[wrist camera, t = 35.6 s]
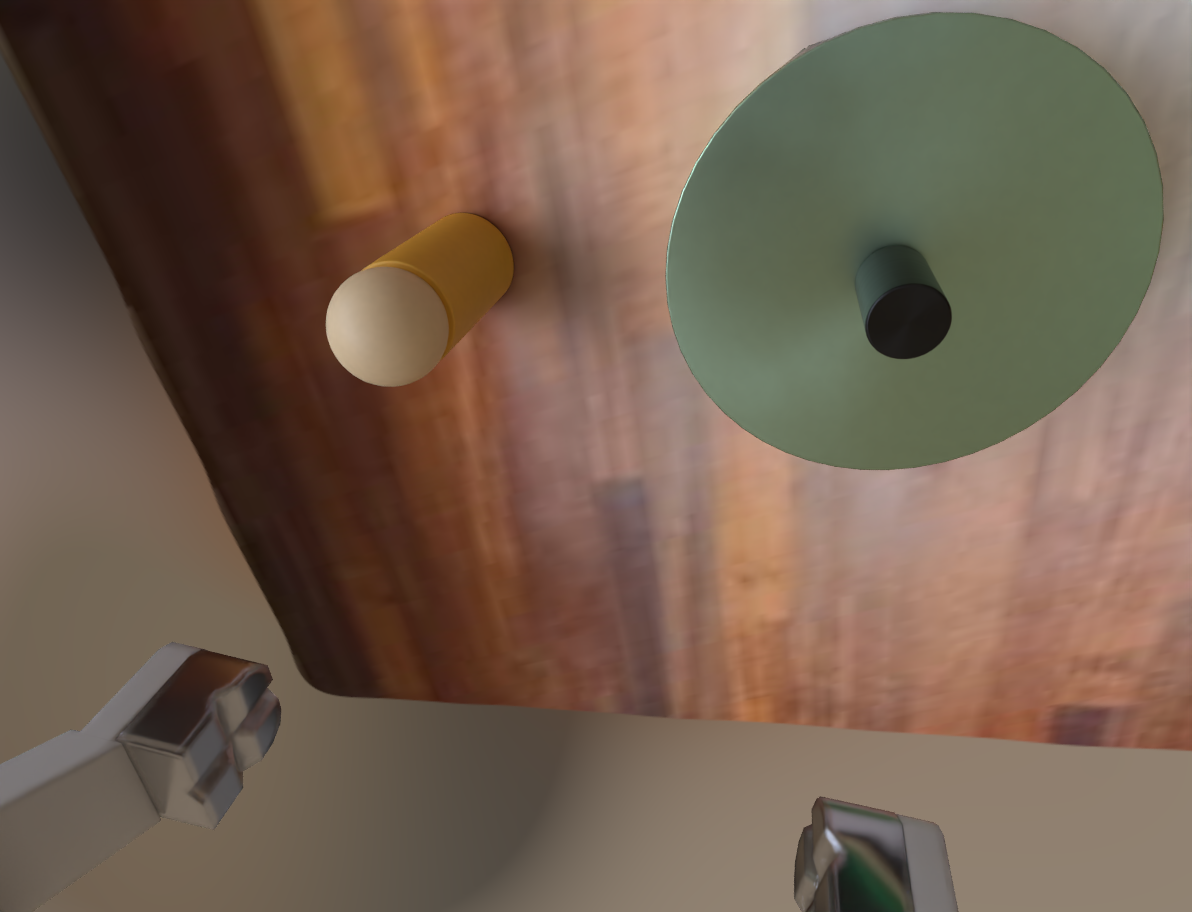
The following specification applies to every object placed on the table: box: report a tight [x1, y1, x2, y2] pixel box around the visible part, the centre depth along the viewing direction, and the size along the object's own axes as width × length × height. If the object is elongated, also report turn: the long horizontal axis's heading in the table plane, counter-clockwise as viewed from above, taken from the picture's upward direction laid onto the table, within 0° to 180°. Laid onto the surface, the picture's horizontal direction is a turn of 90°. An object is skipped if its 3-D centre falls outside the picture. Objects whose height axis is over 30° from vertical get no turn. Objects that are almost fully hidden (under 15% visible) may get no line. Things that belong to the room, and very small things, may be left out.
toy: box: [326, 213, 514, 386], centre depth 31 cm, size 5×5×11 cm
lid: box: [666, 12, 1164, 470], centre depth 23 cm, size 16×16×5 cm
